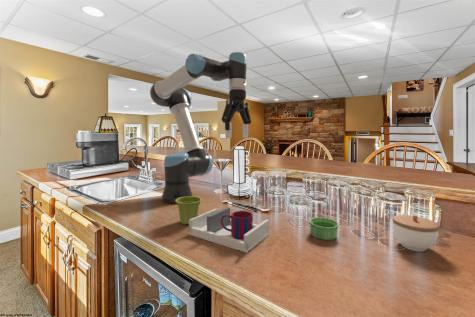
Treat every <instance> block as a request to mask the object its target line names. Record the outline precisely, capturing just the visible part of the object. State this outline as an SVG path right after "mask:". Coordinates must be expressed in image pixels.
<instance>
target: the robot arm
mask: <svg viewBox="0 0 475 317" xmlns="http://www.w3.org/2000/svg"><path fill="white" fill-rule="evenodd" d="M184 62H185V64H184V65H182V66H181V67H180V68H178V69H177V70H175V71H174V72H172V73H171V74H170V75H168V76H167V77H165V78H164V79H163V80H158V81H156V82H154V83H153V84H152V85H151V87H150V91H149V95H150V98H151V100H152V102H153V103H154V104H155V105H158V106H161V107H166V108H169V111H170V113H171V114H172V115H174V119H175V121H176V124H177V128H178V132H179V134H180V137H181V141H182V144H183V146H184V151H185V152H183V151H182V152H175V153H174V152H173V153H169V154H166V156H165V157H164V162H163V166H164V168H163V169H164V187H163V192H162V195H161V201H162V202H163V203H165V204H177V202H176V199H178V198H181V197H188V196H192V197H194V196H193V195H194V194H193V193H192V189H191V186H190V183H189V182H190V179H189V178H191V177H199V176H203V175H207V174H210V172H211V171H212V169H213V166H214V159H213V157H212V156H211V154H210V153H208V152H206V149H205V148H204V147H203V146H201V143H200V140H199V137H198V134H197V132H196V128H195V125H194V123H193V119H192V116H191V114H190V111H189V110H190V109H191V105H192V96H191V95H192V94H191V93H190V91H189V90H188V89H186V88H183V87H185V86H187V85H189V84H190V83H192V82H194V81H195V80H197V79H199V78H200V77H208V78H210V79H211V80H212V81H214V82H221V81H224V80H229V81H228V89H229V92H228V93H229V94H228V96H229V97H228V98H229V99H226V100H225V101H226V102H225V107H224V109H223V110H224V111H223V113H222V116H221V121H222V124H224V131H225V137H224V138H225V139H232V136H233V135H232V132H233V131H232V124H233V123H232V122H231V121H232V119H233V118H234V116H235V113H236V112H237V113H239V115H240V118H241V120H242V123H243V124H242V138H243V139H248V138H249V125H251V123H252V120H251V118H252V117H251V115H250V109H249V103H248V102H245V101H244V100H246V99H247V91H246V89H247V65H248V63H247V56H246V54H245V53H243V52H241V51H234V52H233V51H232V52H231V53H230V54H229V57H228V59H227V60H226V61H218V60H215V59H212V58H209V57H206V56H203V55H201V54H196V53H190V54H188V56H187V58H185V61H184Z"/></svg>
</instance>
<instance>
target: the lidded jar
mask: <svg viewBox="0 0 475 317" xmlns="http://www.w3.org/2000/svg"><path fill="white" fill-rule="evenodd" d="M439 230H440V225H439V223H437V222H435V221H433V220H431V219H428V218H425V217H421V216H418V215H416V214H413V215H409V214H398V215H393V217H392V231H393V235H394V237H395V239H396V240H397V242H398V243H399V244H401V245H402V246H401V245H400V246H401V247H403V248H404V247H405V248H404V249H407V250H410V251H413V252H419V253H420V252H421V253H422V252H426V251H427V250H429V249H431V247H433V246H434V245H435V244H436V242H437V238H438V236H439V235H438V234H439Z"/></svg>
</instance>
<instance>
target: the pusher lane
mask: <svg viewBox="0 0 475 317" xmlns="http://www.w3.org/2000/svg"><path fill="white" fill-rule="evenodd" d="M218 211H219V210H218V208H213V209H210V210H208V211H206V212H204V213H202V214H200V215H199V214H198V216H197V217H194V218H192V219H190V220H189V224H188V234H189V235H190V236H193V237H196V238H198V239H203V240H205V241H209V242H211V243H215V244H217V245H221V246H225V247H227V248H230V249H233V250H237V251H239V250H240V252H242V251H243V252H242V253H245V252H246V254H247V253H249V252H250V251H251V250H252V249H254V248H255V246H257V245H258V244H260V242H262V241H263V240H265V238H267V237H268V236H269V232H270V231H269V228H270V220H269V219H265V220H263V221H262V222H260V223H259V224H256V223H253V229H252V230H250V231H249V232H247V233H246V234H244V240H240V239H235V238H233V237H232V235H231V232H230V231H227V230H225V229H224V228H221V229H219V230H217V231H215V232H214V233H213V232H210V231H207V216H209V215H211V214H213V213H215V212H218ZM225 227H226V228H228V229H231V219H230V224H228V225H226V226H225ZM249 250H250V251H249ZM248 251H249V252H248Z"/></svg>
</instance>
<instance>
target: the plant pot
mask: <svg viewBox="0 0 475 317" xmlns="http://www.w3.org/2000/svg"><path fill="white" fill-rule="evenodd" d="M176 202H177V203H176V205H177V208H178V214H179V220H180V224H183V225H189V220H190V219H192V218H194V217H197V216H199V210H200V205H201V202H202V198H201V197H199V196H193V197H192V196H188V197H181V198H178V199H176Z"/></svg>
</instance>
